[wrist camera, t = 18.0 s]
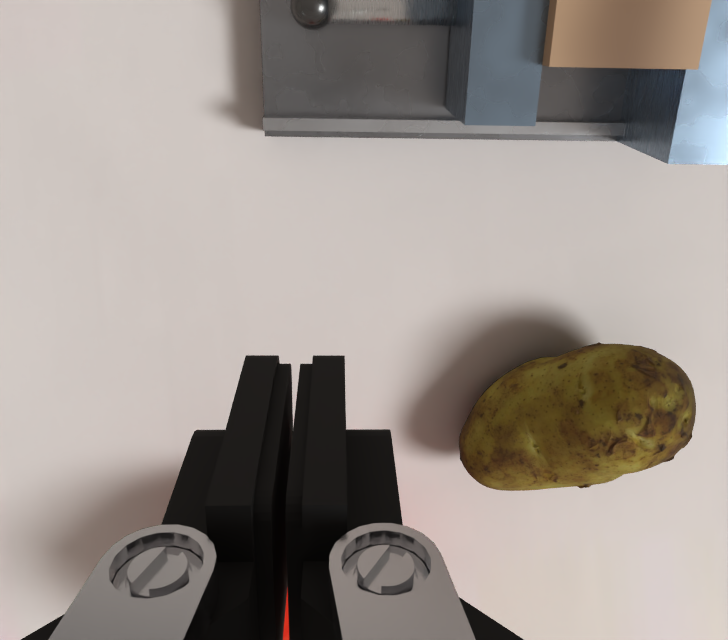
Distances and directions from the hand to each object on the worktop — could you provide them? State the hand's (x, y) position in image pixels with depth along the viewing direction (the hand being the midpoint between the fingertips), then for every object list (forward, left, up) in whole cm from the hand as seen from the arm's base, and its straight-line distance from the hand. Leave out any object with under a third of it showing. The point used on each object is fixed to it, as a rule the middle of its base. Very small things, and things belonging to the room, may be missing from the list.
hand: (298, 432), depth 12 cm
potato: (+14, -14, -27) cm, 34 cm away
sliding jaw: (+4, +7, -25) cm, 27 cm away
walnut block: (+12, +7, -26) cm, 29 cm away
